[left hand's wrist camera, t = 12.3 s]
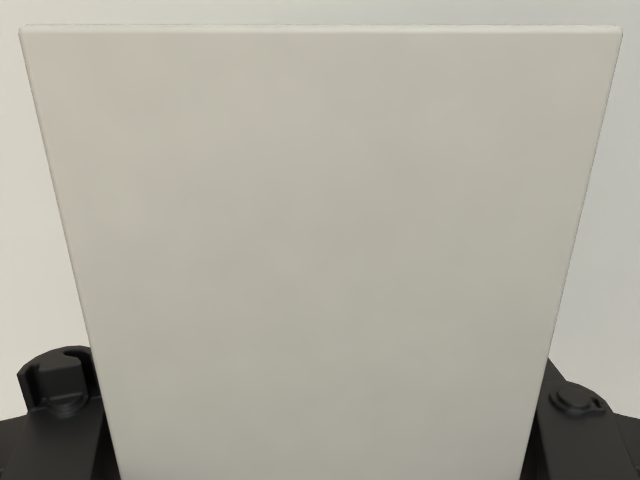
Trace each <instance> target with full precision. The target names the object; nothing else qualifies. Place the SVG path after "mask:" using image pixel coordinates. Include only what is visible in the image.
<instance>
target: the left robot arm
mask: <svg viewBox="0 0 640 480" xmlns="http://www.w3.org/2000/svg"><path fill="white" fill-rule="evenodd" d="M17 377H18V381H19V384H20V387H21V390H22V393H23V397H24V400H25V403H26V406H27V410H28V412H27V415H24V416H20V417H16V418H12V419H7V420H3V421H0V480H121V477H120V473H119V469H118V464H117V460H116V456H115V451H114V447H113V443H112V438H111V434H110V430H109V425H108V421H107V417H106V412H105V408H104V404H103V399H102V395H101V391H100V386H99V382H98V378H97V373H96V369H95V365H94V360H93V356H92V352H91V348H90V347H85V346H66V347H62V348H58V349H54V350H50V351H48V352H46V353H44V354H41V355H39V356H37V357H35V358H34V359H32V360H31V361H29V362H28V363H26V364H25V365H24V366H23V367H22V368H21V369H20V371H19V372H18V373H17ZM519 480H640V419H637V418H632V417H628V416H623V415H620V414H616V413H613V411H612V410H611V408H610V407H609V405H608V404H607V403H606V401H605V400H604V399H602V398H601V397H600V396H599V395H597V394H596V393H595V392H593V391H591V390H589V389H587V388H585V387H583V386H581V385H579V384H575V383H572V382H568V381H566V380H565V379H564V377H563V376H562V375H561V373H560V372H559V371H558V370H557V368H556V367H555V366H554V365H553V363H552V362H551V361H550V359H549V358H547V363H546V367H545V371H544V375H543V380H542V384H541V388H540V393H539V397H538V401H537V405H536V410H535V414H534V418H533V423H532V427H531V431H530V435H529V440H528V444H527V448H526V453H525V457H524V461H523V465H522V470H521V474H520V478H519Z"/></svg>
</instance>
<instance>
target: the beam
mask: <svg viewBox="0 0 640 480" xmlns="http://www.w3.org/2000/svg"><path fill="white" fill-rule="evenodd" d="M18 35H19V39H20V44H21V48H22V52H23V57H24V61H25V65H26V70H27V74H28V78H29V83H30V87H31V91H32V96H33V100H34V104H35V109H36V113H37V117H38V122H39V126H40V130H41V135H42V139H43V143H44V148H45V152H46V156H47V161H48V165H49V169H50V174H51V178H52V182H53V187H54V191H55V195H56V200H57V204H58V208H59V213H60V217H61V221H62V226H63V230H64V234H65V239H66V243H67V247H68V252H69V256H70V260H71V265H72V269H73V273H74V278H75V282H76V286H77V291H78V295H79V300H80V304H81V308H82V313H83V317H84V321H85V326H86V330H87V334H88V339H89V343H90V347H91V352H92V356H93V360H94V365H95V369H96V373H97V378H98V382H99V386H100V391H101V395H102V399H103V404H104V408H105V412H106V417H107V421H108V425H109V430H110V434H111V438H112V443H113V447H114V451H115V456H116V460H117V464H118V469H119V473H120V477H121V480H519V478H520V474H521V470H522V465H523V461H524V457H525V453H526V448H527V444H528V440H529V435H530V431H531V427H532V423H533V418H534V414H535V410H536V405H537V401H538V397H539V393H540V388H541V384H542V380H543V375H544V371H545V367H546V363H547V358H548V354H549V350H550V345H551V341H552V337H553V332H554V328H555V324H556V320H557V315H558V311H559V307H560V302H561V298H562V294H563V290H564V285H565V281H566V277H567V272H568V268H569V264H570V260H571V255H572V251H573V247H574V242H575V238H576V234H577V230H578V225H579V221H580V217H581V212H582V208H583V204H584V200H585V195H586V191H587V187H588V182H589V178H590V174H591V170H592V165H593V161H594V157H595V152H596V148H597V144H598V140H599V135H600V131H601V127H602V122H603V118H604V114H605V109H606V105H607V101H608V97H609V92H610V88H611V84H612V79H613V75H614V71H615V67H616V62H617V58H618V54H619V49H620V45H621V41H622V37H623V31H622V29H621V28H619V27H617V26H615V25H25V26H23V27H21V28H19V34H18Z"/></svg>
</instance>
